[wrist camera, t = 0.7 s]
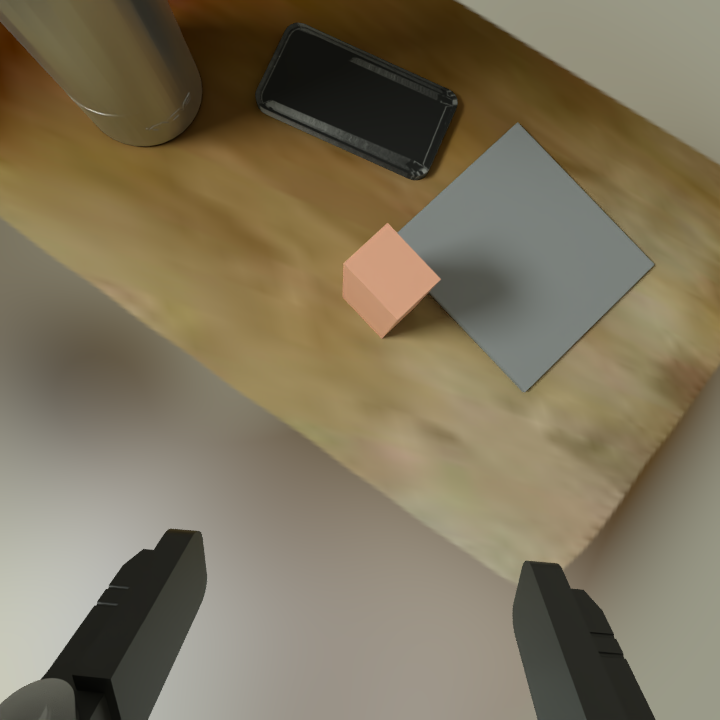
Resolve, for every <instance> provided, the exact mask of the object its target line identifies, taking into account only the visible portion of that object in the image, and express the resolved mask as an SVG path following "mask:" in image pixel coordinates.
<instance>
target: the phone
mask: <svg viewBox="0 0 720 720" xmlns="http://www.w3.org/2000/svg"><path fill="white" fill-rule="evenodd" d="M255 95H256V101H257V104H258V107H259V109H260V110H261V111H262V112H263V113H265V114H266V115H269V116H271V117H273V118H275V119H277V120H280V121H282V122H284V123H286V124H289V125H291V126H293V127H295V128H297V129H300V130H302V131H304V132H306V133H308V134H311V135H313V136H315V137H317V138H320V139H322V140H324V141H326V142H328V143H331V144H333V145H335V146H337V147H340V148H342V149H344V150H346V151H348V152H351V153H353V154H355V155H357V156H359V157H362V158H364V159H366V160H368V161H371V162H373V163H375V164H377V165H379V166H382V167H384V168H386V169H388V170H390V171H393V172H395V173H397V174H399V175H402V176H404V177H406V178H408V179H411V180H420V179H422V178H424V177H425V176H426V175H427V173H428V171H429V169H430V167H431V164H432V162H433V160H434V158H435V155H436V153H437V151H438V149H439V146H440V144H441V142H442V140H443V138H444V135H445V133H446V131H447V129H448V126H449V124H450V122H451V120H452V117H453V115H454V113H455V110H456V108H457V104H458V103H457V98H456V95H455V94H454V93H453V92H452V91H450V90H449V89H447V88H445V87H442V86H440V85H438V84H436V83H434V82H431V81H429V80H427V79H425V78H422V77H420V76H418V75H416V74H414V73H411V72H409V71H407V70H405V69H403V68H400V67H398V66H396V65H394V64H392V63H389V62H387V61H385V60H383V59H381V58H378V57H376V56H374V55H372V54H370V53H367V52H365V51H363V50H361V49H359V48H356V47H354V46H352V45H350V44H348V43H345V42H343V41H341V40H339V39H336V38H334V37H332V36H330V35H328V34H325V33H323V32H321V31H319V30H317V29H314V28H312V27H310V26H308V25H306V24H303V23H294V24H291V25H290V26H288V27H287V29H286V30H285V32H284V34H283V36H282V38H281V40H280V43H279V45H278V47H277V49H276V51H275V53H274V55H273V57H272V59H271V61H270V63H269V65H268V67H267V69H266V71H265V73H264V76H263V78H262V80H261V82H260V84H259V86H258V88H257V90H256V94H255Z"/></svg>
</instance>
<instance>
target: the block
mask: <svg viewBox="0 0 720 720" xmlns="http://www.w3.org/2000/svg"><path fill="white" fill-rule="evenodd" d="M440 280H441V279H440V278H439V277H438V276H437V274H436V273H435V272H434V271H433V270H432V269H431V268H430V267H429V266H428V265H427V264H426V263H425V262H424V261H423V260H422V259H421V258H420V257H419V256H418V254H417V253H416V252H415V251H414V250H413V249H412V248H411V247H410V246H409V245H408V244H407V243H406V242H405V241H404V240H403V239H402V238H401V237H400V236H399V234H398V233H397V232H396V231H395V230H394V229H393V228H392V227H391V226H390V225H389V224H388V223H387V224H386V225H385V226H384V227H383V228H382V229H380V230H379V231H378V232H377V233H376V234H375V235H374V236H373V237H372V238H371V239H370V240H368V241H367V242H366V243H365V244H364V245H363V246H362V247H361V248H360V249H359V250H358V251H356V252H355V253H354V254H353V255H352V256H351V257H350V258H349V259H348V260H347V261H346V262H344V267H343V298H344V299H345V300H346V301H347V302H348V303H349V304H350V305H351V307H352V308H353V309H354V310H355V311H356V312H357V313H358V314H359V315H360V316H361V317H362V318H363V319H364V320H365V321H366V322H367V323H368V325H369V326H370V327H371V328H372V329H373V330H374V331H375V332H376V333H377V334H378V335H379V336H380V337H381V338H383V337H384V336H385V335H386V334H387V333H388V332H389V331H390V330H392V329H393V328H394V327H395V326H396V325H397V324H398V323H399V322H400V321H401V320H402V319H403V318H404V317H405V316H406V315H407V314H409V313H410V312H411V311H412V310H413V309H414V308H415V307H416V306H417V305H418V303H419V302H420V301H421V300H422V299H423V298H424V297H425V296H426V295H427V294H428V293H429V292H430V291H431V289H432V288H433V287H434V286H435V285H436V284H437V283H438V282H439V281H440Z"/></svg>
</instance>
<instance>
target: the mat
mask: <svg viewBox="0 0 720 720" xmlns="http://www.w3.org/2000/svg"><path fill="white" fill-rule="evenodd" d="M398 234H399V236H400V237H401V238H402V239H403V240H404V241H405V242H406V243H407V244H408V245H409V246H410V247H411V248H412V249H413V250H414V251H415V252H416V253H417V254H418V256H419V257H420V258H421V259H422V260H423V261H424V262H425V263H426V264H427V265H428V266H429V267H430V268H431V269H432V270H433V271H434V272H435V273H436V274H437V276H438V277H439V278H440V279H441V280H440V281H439V282H438V283H437V284H436V285H435V286H434V287H433V288H432V289H431V291H430V292H429V294H430V295H431V296H432V297H433V298H434V299H435V300H436V301H437V302H438V303H439V304H440V305H441V306H442V307H443V308H444V310H445V311H446V312H447V313H448V314H449V315H450V316H451V317H452V318H453V319H454V320H455V321H456V322H457V323H458V324H459V325H460V326H461V327H462V328H463V330H464V331H465V332H466V333H467V334H468V335H469V336H470V337H471V338H472V339H473V340H474V341H475V342H476V343H477V344H478V345H479V346H480V347H481V348H482V350H483V351H484V352H485V353H486V354H487V355H488V356H489V357H490V358H491V359H492V360H493V361H494V362H495V363H496V364H497V365H498V366H499V367H500V368H501V370H502V371H503V372H504V373H505V374H506V375H507V376H508V377H509V378H510V379H511V380H512V381H513V382H514V383H515V384H516V385H517V386H518V387H519V388H520V390H521V391H522V392H526V391H527V390H528V389H529V388H530V387H531V386H532V385H533V384H534V383H535V382H536V381H537V380H538V379H539V378H540V377H541V376H542V375H543V374H544V373H545V372H546V371H547V370H548V369H549V368H550V367H551V366H552V365H553V364H554V363H555V362H556V361H557V360H558V359H559V358H560V357H561V356H562V355H563V354H564V353H565V352H566V351H567V350H568V349H569V348H570V347H571V346H572V345H573V344H574V343H575V342H576V341H577V340H578V339H579V338H580V337H581V336H582V335H583V334H585V333H586V332H587V331H588V330H589V329H590V328H591V327H592V326H593V325H594V324H595V323H596V322H597V321H598V320H599V319H600V318H601V317H602V316H603V315H604V314H605V313H606V312H607V311H608V310H609V309H610V308H611V307H612V306H613V305H614V304H615V303H616V302H617V301H618V300H619V299H620V298H621V297H622V296H623V295H624V294H625V293H626V292H627V291H628V290H629V289H630V288H631V287H632V286H633V285H634V284H635V283H636V282H637V281H638V280H639V279H640V278H641V277H642V276H643V275H644V274H645V273H646V272H647V271H648V270H649V269H650V268H651V267H652V266H653V265H654V263H653V262H652V261H651V260H650V259H649V258H648V257H647V256H646V255H645V254H644V253H643V252H642V251H641V250H640V249H639V248H638V247H637V246H636V245H635V244H634V243H633V242H632V241H631V240H630V239H629V237H628V236H627V235H626V234H625V233H624V232H623V231H622V230H621V229H620V228H619V227H618V226H617V225H616V224H615V223H614V222H613V221H612V220H611V219H610V218H609V217H608V216H607V215H606V214H605V213H604V212H603V210H602V209H601V208H600V207H599V206H598V205H597V204H596V203H595V202H594V201H593V200H592V199H591V198H590V197H589V196H588V195H587V194H586V193H585V192H584V191H583V190H582V189H581V188H580V187H579V186H578V184H577V183H576V182H575V181H574V180H573V179H572V178H571V177H570V176H569V175H568V174H567V173H566V172H565V171H564V170H563V169H562V168H561V167H560V166H559V165H558V164H557V163H556V162H555V161H554V160H553V158H552V157H551V156H550V155H549V154H548V153H547V152H546V151H545V150H544V149H543V148H542V147H541V146H540V145H539V144H538V143H537V142H536V141H535V140H534V139H533V138H532V137H531V136H530V135H529V134H528V133H527V131H526V130H525V129H524V128H523V127H522V126H521V125H520V124H519V123H518V122H517V123H516V124H515V125H514V126H513V127H512V128H511V129H510V130H509V131H508V132H506V133H505V134H504V135H503V136H502V137H501V138H500V139H499V140H498V141H497V142H496V143H494V144H493V145H492V146H491V147H490V148H489V149H488V150H487V151H486V152H485V153H484V154H483V155H481V156H480V157H479V158H478V159H477V160H476V161H475V162H474V163H473V164H472V165H471V166H469V167H468V168H467V169H466V170H465V171H464V172H463V173H462V174H461V175H460V176H459V177H457V178H456V179H455V180H454V181H453V182H452V183H451V184H450V185H449V186H448V187H447V188H446V189H444V190H443V191H442V192H441V193H440V194H439V195H438V196H437V197H436V198H435V199H434V200H432V201H431V202H430V203H429V204H428V205H427V206H426V207H425V208H424V209H423V210H422V211H420V212H419V213H418V214H417V215H416V216H415V217H414V218H413V219H412V220H411V221H410V222H409V223H407V224H406V225H405V226H404V227H403V228H402V229H401V230H400V231H399V232H398Z"/></svg>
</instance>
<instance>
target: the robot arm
mask: <svg viewBox="0 0 720 720" xmlns="http://www.w3.org/2000/svg"><path fill="white" fill-rule="evenodd" d="M0 22H1V23H2V24H3V25H4V26H5V27H6V28H7V29H8V30H9V31H10V32H11V34H12V35H13V36H14V37H15V38H16V39H17V40H18V41H19V42H20V43H21V44H22V45H23V46H24V48H25V49H26V50H27V51H28V52H29V53H30V54H31V55H32V56H33V57H34V58H35V59H36V60H37V62H38V63H39V64H40V65H41V66H42V67H43V68H44V69H45V70H46V71H47V72H48V73H49V75H50V76H51V77H52V78H53V79H54V80H55V81H56V82H57V83H58V84H59V85H60V86H61V87H62V89H63V90H64V91H65V92H66V93H67V94H68V95H69V96H70V97H71V99H72V100H73V101H74V102H75V103H76V104H77V105H78V106H79V107H80V108H81V109H82V110H83V111H84V112H85V113H86V115H87V116H88V117H89V118H90V119H91V120H92V121H93V122H94V123H95V124H96V125H97V126H98V127H99V128H100V129H101V130H102V132H104V133H105V134H107V135H108V136H110V137H111V138H112V139H115V140H117V141H119V142H122V143H124V144H129V145H133V146H152V145H157V144H162V143H164V142H167V141H169V140H171V139H173V138H175V137H176V136H178V135H179V134H181V133H182V132H183V131H184V130H185V129H186V128H187V127H188V126H189V125H190V124H191V123H192V121H193V119H194V118H195V116H196V114H197V112H198V109H199V107H200V104H201V98H202V84H201V78H200V75H199V72H198V69H197V67H196V64H195V62H194V60H193V58H192V55H191V53H190V51H189V49H188V46H187V44H186V42H185V40H184V38H183V35H182V33H181V30H180V28H179V26H178V23H177V21H176V19H175V17H174V15H173V12H172V10H171V8H170V6H169V3H168V1H167V0H0ZM206 583H207V572H206V564H205V555H204V547H203V538H202V534H201V532H200V531H191V530H180V529H169V530H167V531H166V532H165V534H164V535H163V537H162V538H161V540H160V541H159V543H158V544H157V546H156V547H155V549H154V550H147V549H143V550H142V551H140V552H139V553H138V554H137V555H135V556H134V557H133V558H132V559H130V560H129V561H128V562H127V563H125V564H124V565H123V566H122V568H121V569H120V570H119V572H118V573H117V575H116V576H115V577H114V579H113V580H112V582H111V583H110V585H109V588H108V589H106V590H105V591H104V593H103V594H102V596H101V597H100V599H99V600H98V602H97V605H96V606H94V607H93V608H92V610H91V611H90V613H89V614H88V615H87V617H86V618H85V620H84V621H83V623H82V624H81V625H80V627H79V628H78V630H77V631H76V632H75V634H74V635H73V636H72V638H71V639H70V641H69V642H68V644H67V645H66V646H65V648H64V650H63V651H62V652H61V653H60V655H59V656H58V658H57V659H56V660H55V662H54V663H53V665H52V666H51V667H50V669H49V670H48V672H47V673H46V674H45V675H44V676H43V678H42V679H41V680H39V681H36V682H33V683H30V684H28V685H26V686H24V687H22V688H21V689H19V690H18V691H16V692H14V693H13V694H12V695H11V696H9V697H8V698H7V699H5V700H4V701H3V702H2V703H1V704H0V720H148V718H149V716H150V714H151V711H152V709H153V707H154V705H155V703H156V701H157V699H158V696H159V694H160V692H161V690H162V687H163V685H164V683H165V681H166V679H167V677H168V675H169V672H170V670H171V668H172V666H173V664H174V662H175V659H176V657H177V655H178V653H179V651H180V649H181V646H182V644H183V642H184V640H185V638H186V635H187V633H188V631H189V629H190V627H191V624H192V622H193V620H194V618H195V616H196V614H197V612H198V609H199V607H200V605H201V603H202V600H203V597H204V593H205V589H206ZM513 627H514V633H515V637H516V641H517V644H518V648H519V652H520V655H521V659H522V663H523V667H524V670H525V674H526V678H527V682H528V685H529V689H530V693H531V696H532V700H533V704H534V708H535V711H536V715H537V719H538V720H655V718H654V716H653V714H652V711H651V709H650V707H649V705H648V703H647V701H646V699H645V697H644V695H643V693H642V691H641V689H640V687H639V685H638V683H637V681H636V679H635V677H634V675H633V672H632V670H631V668H630V666H629V664H628V662H627V660H626V659H624V657H623V652H622V650H621V648H620V646H619V644H618V642H617V640H616V639H614V634H613V632H612V630H611V627H610V626H609V623H608V622H607V619H606V617H605V615H604V613H603V611H602V610H601V609H600V608H599V606H598V605H597V604H596V603H595V602H594V601H593V600H592V599H591V598H590V597H589V595H588V594H587V593H586V592H585V591H584V590H579V589H571V588H570V586H569V584H568V581H567V579H566V577H565V574H564V572H563V570H562V568H561V566H560V565H559V564H557V563H546V562H535V561H525V562H524V563H523V566H522V570H521V574H520V578H519V583H518V587H517V591H516V595H515V599H514V604H513Z"/></svg>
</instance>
